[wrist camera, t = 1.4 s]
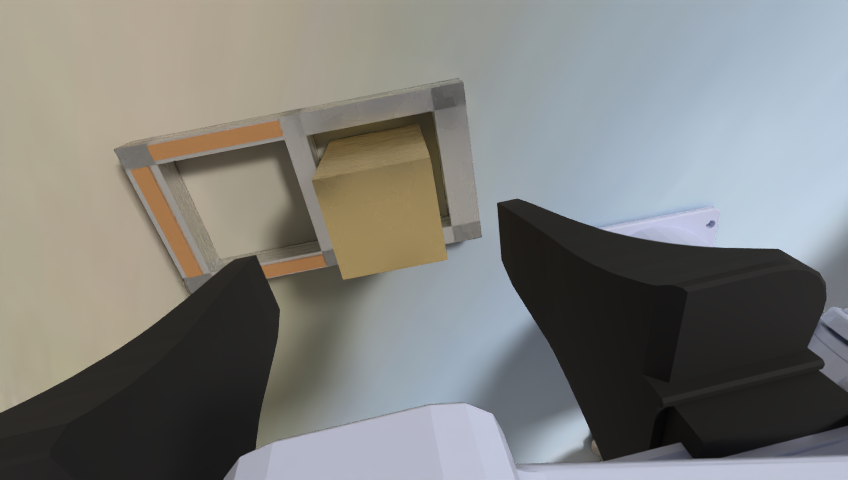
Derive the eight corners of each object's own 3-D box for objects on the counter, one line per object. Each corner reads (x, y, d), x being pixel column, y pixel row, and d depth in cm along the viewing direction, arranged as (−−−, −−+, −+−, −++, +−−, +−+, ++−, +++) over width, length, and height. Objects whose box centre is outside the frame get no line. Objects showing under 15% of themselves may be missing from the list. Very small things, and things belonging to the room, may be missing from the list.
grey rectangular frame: (476, 225, 23) (482, 238, 22) (200, 279, 24) (190, 294, 22) (458, 78, 20) (463, 82, 18) (130, 142, 20) (112, 150, 18)
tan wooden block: (432, 205, 23) (447, 259, 17) (352, 220, 23) (343, 279, 17) (418, 123, 21) (430, 157, 15) (330, 140, 21) (311, 180, 15)
